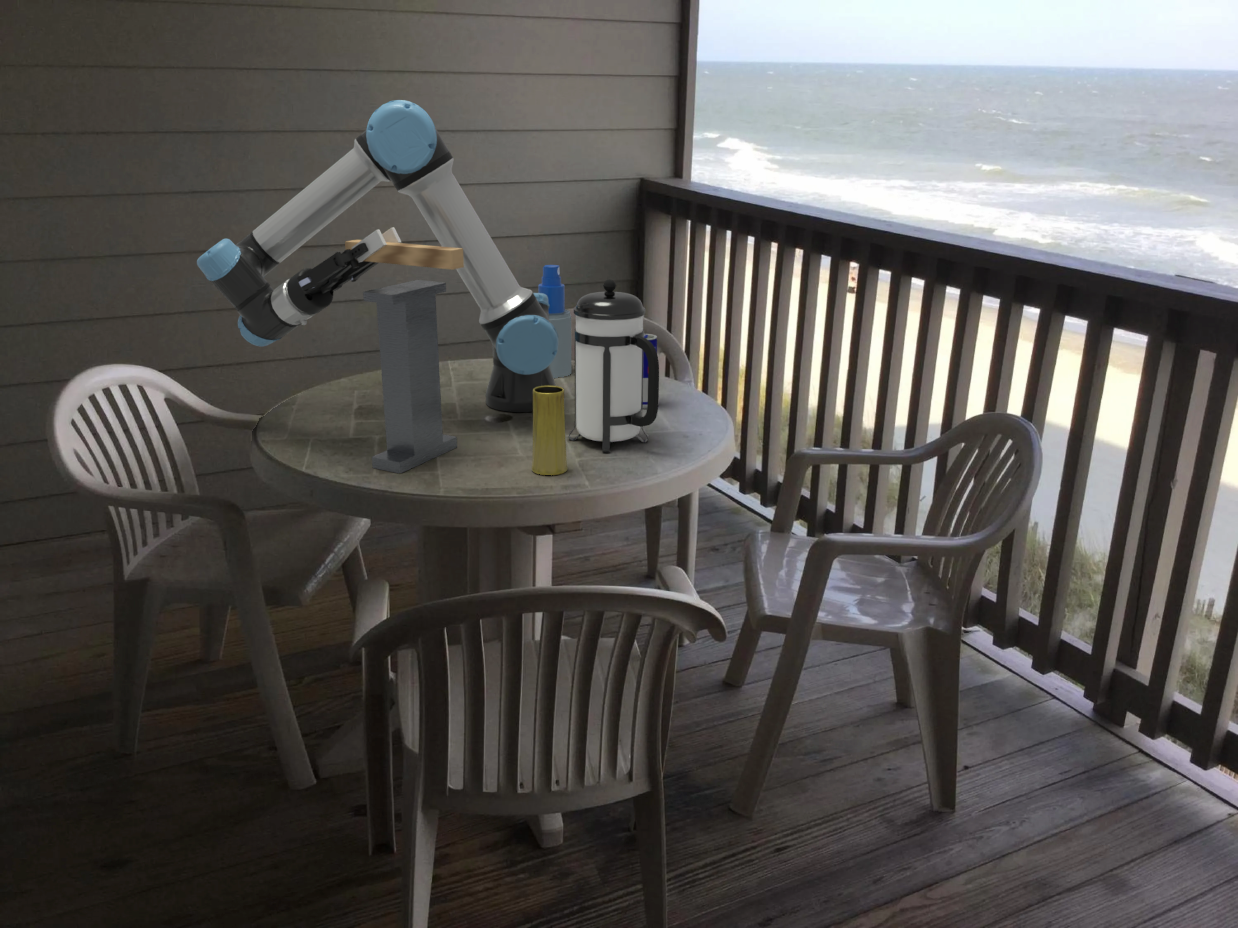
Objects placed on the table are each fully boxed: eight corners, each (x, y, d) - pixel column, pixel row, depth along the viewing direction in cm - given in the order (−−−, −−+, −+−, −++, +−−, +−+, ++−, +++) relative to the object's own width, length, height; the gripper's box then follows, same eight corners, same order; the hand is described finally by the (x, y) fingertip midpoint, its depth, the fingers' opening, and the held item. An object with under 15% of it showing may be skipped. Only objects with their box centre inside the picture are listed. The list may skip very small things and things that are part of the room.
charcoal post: (372, 467, 170) (358, 292, 160) (430, 442, 183) (421, 279, 173) (400, 473, 167) (388, 296, 157) (457, 447, 181) (449, 282, 171)
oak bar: (346, 259, 167) (344, 241, 166) (358, 257, 170) (357, 239, 169) (452, 269, 158) (451, 250, 157) (463, 267, 160) (463, 248, 159)
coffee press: (560, 453, 178) (558, 286, 168) (576, 426, 193) (575, 271, 183) (656, 458, 176) (660, 289, 166) (665, 431, 191) (669, 274, 181)
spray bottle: (577, 370, 235) (576, 264, 226) (563, 379, 227) (562, 269, 218) (542, 367, 237) (540, 261, 229) (527, 376, 229) (524, 267, 221)
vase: (531, 464, 172) (530, 384, 168) (566, 463, 173) (566, 384, 168) (531, 476, 167) (530, 394, 162) (568, 475, 167) (567, 394, 162)
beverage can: (653, 410, 204) (655, 338, 199) (629, 408, 205) (630, 337, 200) (657, 403, 209) (659, 333, 204) (633, 402, 210) (634, 332, 205)
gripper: (344, 307, 183) (429, 251, 171) (279, 323, 170) (366, 262, 157) (325, 271, 183) (409, 211, 170) (259, 283, 169) (345, 219, 157)
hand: (388, 236), depth 164 cm, fingers closed on oak bar, 3 cm apart
